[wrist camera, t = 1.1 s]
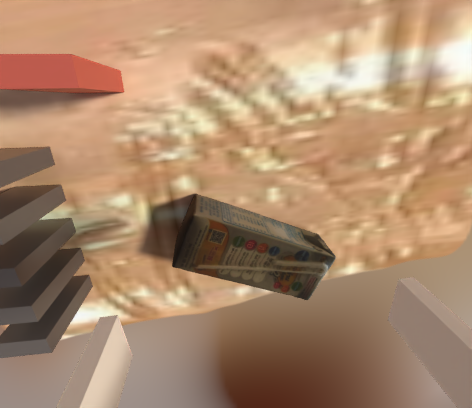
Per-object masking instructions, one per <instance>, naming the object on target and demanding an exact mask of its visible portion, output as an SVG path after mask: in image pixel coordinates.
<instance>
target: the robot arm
mask: <svg viewBox="0 0 472 408" xmlns="http://www.w3.org/2000/svg"><path fill="white" fill-rule="evenodd" d="M388 321H389V322H390V323H391V325H392V326H393V327H394V329H395V330H396V331H397V332H398V334H399V335H400V336H401V337H402V339H403V340H404V341H405V343H406V344H407V345H408V346H409V348H410V349H411V350H412V351H413V353H414V354H415V355H416V356H417V358H418V359H419V360H420V361H421V363H422V364H423V365H424V366H425V368H426V369H427V370H428V371H429V373H430V374H431V375H432V377H433V378H434V379H435V380H436V382H437V383H438V384H439V385H440V387H441V388H442V389H443V390H444V392H445V393H446V394H447V395H448V397H449V398H450V399H451V400H452V402H453V403H454V404H455V405H456V407H457V408H472V329H471V328H470V327H469V326H468V325H467V324H466V323H465V322H464V321H462V320H461V319H460V318H459V317H458V316H457V315H456V314H455V313H453V312H452V311H451V310H450V309H449V308H448V307H447V306H446V305H444V304H443V303H442V302H441V301H440V300H439V299H438V298H437V297H435V296H434V295H433V294H432V293H431V292H430V291H428V289H426V288H425V287H424V286H423V285H422V284H421V283H420V282H418V281H417V280H416V279H415V278H414V277H411V278H404V279H398V283H397V287H396V291H395V295H394V299H393V302H392V307H391V310H390V314H389V318H388ZM131 360H132V353H131V350H130V347H129V345H128V342H127V339H126V337H125V334H124V331H123V328H122V325H121V323H120V320H119V317H118V315H116V316H108V317H100V319H99V321H98V323H97V325H96V327H95V329H94V331H93V333H92V335H91V337H90V339H89V341H88V343H87V345H86V347H85V350H84V351H83V353H82V356H81V358H80V360H79V362H78V364H77V366H76V368H75V370H74V372H73V374H72V376H71V378H70V380H69V382H68V384H67V387H66V388H65V390H64V393H63V394H62V396H61V399H60V401H59V403H58V405H57V407H56V408H118V404H119V401H120V398H121V394H122V391H123V387H124V384H125V381H126V377H127V374H128V370H129V367H130V363H131Z"/></svg>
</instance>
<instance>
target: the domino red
mask: <svg viewBox="0 0 472 408" xmlns="http://www.w3.org/2000/svg"><path fill="white" fill-rule="evenodd" d="M0 89H10V90H29V91H48V92H67V93H101V92H124V88H123V83H122V77H121V71H120V70H117V69H114V68H111V67H108V66H105V65H102V64H99V63H96V62H93V61H90V60H87V59H84V58H81V57H78V56H75V55H72V54H0Z"/></svg>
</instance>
